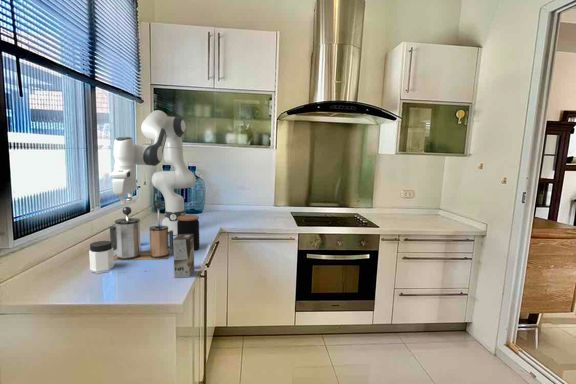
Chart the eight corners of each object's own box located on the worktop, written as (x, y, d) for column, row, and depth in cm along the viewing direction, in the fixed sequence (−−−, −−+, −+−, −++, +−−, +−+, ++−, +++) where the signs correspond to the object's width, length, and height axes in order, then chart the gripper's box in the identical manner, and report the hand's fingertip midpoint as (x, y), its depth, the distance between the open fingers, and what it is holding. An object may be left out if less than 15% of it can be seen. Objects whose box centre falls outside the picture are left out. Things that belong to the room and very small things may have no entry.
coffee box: (189, 277, 134) (189, 239, 132) (173, 277, 133) (172, 239, 131) (194, 269, 143) (193, 233, 141) (179, 269, 142) (178, 233, 140)
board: (119, 254, 162) (119, 251, 162) (173, 252, 166) (173, 250, 166) (108, 263, 148) (108, 260, 148) (168, 261, 152) (167, 259, 152)
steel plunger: (123, 249, 158) (121, 205, 155) (139, 249, 159) (137, 205, 156) (117, 254, 151) (115, 208, 148) (134, 253, 152) (132, 208, 149)
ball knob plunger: (154, 236, 159) (153, 200, 157) (166, 236, 160) (165, 200, 157) (151, 239, 153) (150, 202, 151) (164, 239, 154) (163, 202, 152)
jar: (99, 266, 144) (97, 240, 143) (117, 267, 144) (116, 240, 143) (86, 274, 135) (84, 246, 134) (106, 274, 135) (104, 246, 134)
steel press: (116, 253, 159) (114, 218, 157) (143, 252, 161) (141, 217, 159) (108, 260, 149) (106, 222, 147) (136, 259, 151) (135, 222, 149)
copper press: (153, 253, 161) (152, 225, 159) (174, 252, 162) (174, 225, 160) (148, 258, 153) (147, 229, 151) (171, 257, 154) (170, 229, 153)
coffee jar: (191, 246, 176) (190, 214, 174) (203, 250, 170) (203, 216, 168) (173, 251, 168) (172, 216, 166) (185, 255, 162) (184, 219, 159)
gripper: (125, 170, 160) (127, 198, 162) (109, 174, 140) (111, 206, 142) (139, 171, 161) (140, 198, 163) (125, 174, 141) (126, 206, 143)
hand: (126, 202), depth 152 cm, fingers open, 8 cm apart
